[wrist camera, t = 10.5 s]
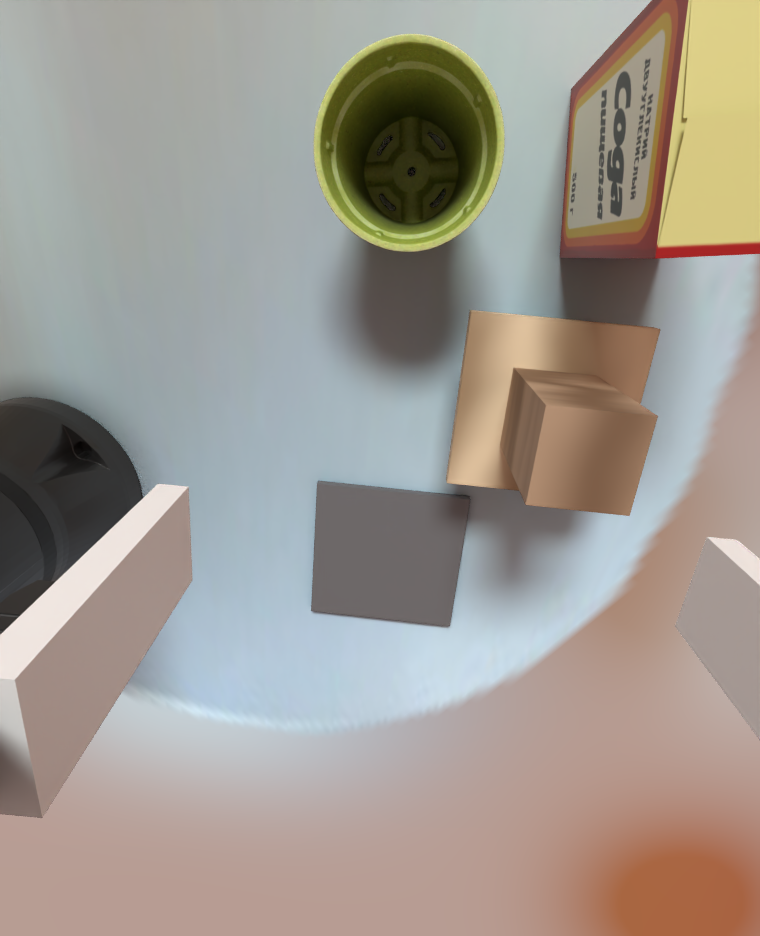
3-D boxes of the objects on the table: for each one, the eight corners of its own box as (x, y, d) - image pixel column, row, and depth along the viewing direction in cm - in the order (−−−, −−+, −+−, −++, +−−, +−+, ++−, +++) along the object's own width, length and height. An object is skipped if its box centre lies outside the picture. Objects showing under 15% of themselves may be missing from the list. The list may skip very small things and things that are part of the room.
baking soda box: (571, 88, 33) (699, -53, 18) (684, 80, 32) (914, -72, 17) (559, 257, 36) (658, 258, 21) (661, 252, 35) (836, 250, 21)
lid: (446, 477, 37) (455, 551, 28) (469, 309, 33) (490, 331, 23) (609, 494, 36) (674, 575, 27) (653, 327, 32) (747, 355, 23)
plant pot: (418, 282, 37) (417, 290, 29) (309, 185, 35) (276, 164, 27) (515, 162, 34) (545, 133, 26) (402, 49, 32) (396, -19, 24)
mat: (312, 606, 47) (311, 610, 47) (318, 480, 43) (317, 483, 42) (449, 621, 47) (449, 626, 46) (469, 496, 43) (470, 499, 42)
